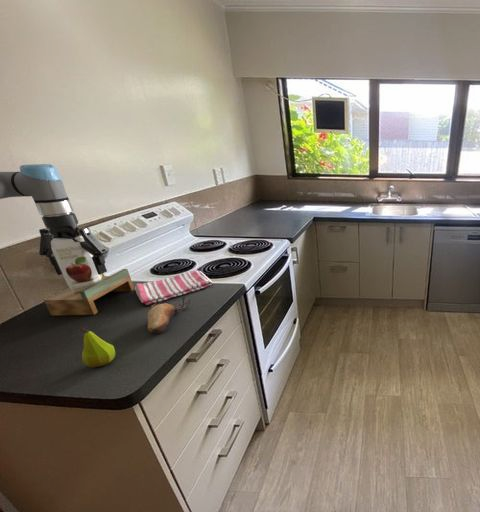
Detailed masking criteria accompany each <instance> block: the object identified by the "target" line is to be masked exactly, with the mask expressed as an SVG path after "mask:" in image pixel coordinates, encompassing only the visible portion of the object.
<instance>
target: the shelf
mask: <svg viewBox="0 0 480 512" xmlns="http://www.w3.org/2000/svg"><path fill="white" fill-rule="evenodd" d="M134 286H135V285H134V284H133V280H132V278H131V276H130V272H129V269H128V268H123V269H122V268H121V270H119V271H116V272H115V273H113V274H111V275H104V276H103V275H102V280H101V281H99V282H97V283H95V284H93V285H91V286H89V287H87V288H85V289H83V290H81V291H80V292H75V293H74V292H73V291H72V290H71V289H70V288H69V287H68V288H66V289H64V290H61V291H59V292H57V293H55V294H53V295H51V296H49V297H47V298H45V299H43V302H44V304H45V306H46V308H47V310H48V312H49V314H50V316H94V315H96V314H98V313H99V310H98V309H97V307H96V305H95V300H97V299H99V298H101V297H103V296H105V295H106V294H108V293H110V292H133V291H135V288H134Z"/></svg>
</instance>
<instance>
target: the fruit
mask: <svg viewBox="0 0 480 512" xmlns="http://www.w3.org/2000/svg"><path fill="white" fill-rule="evenodd" d="M80 330H83V331H85V332H84V334H83V350H82V352H81V360H82V363H83V364H84V365H85V366H87V367H90V368H98V367H103V366H106V365H109V363H110V362H112V361H113V360H114V359H115V357H116V350H115V346H114V345H113V344H112V343H108V342H107V341H105V340H103V339H102V338H100V337H99V336H98V335H96V334H95V333H94V332H93V331H91V330H88V329H86V328H84V327H81V328H80Z"/></svg>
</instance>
